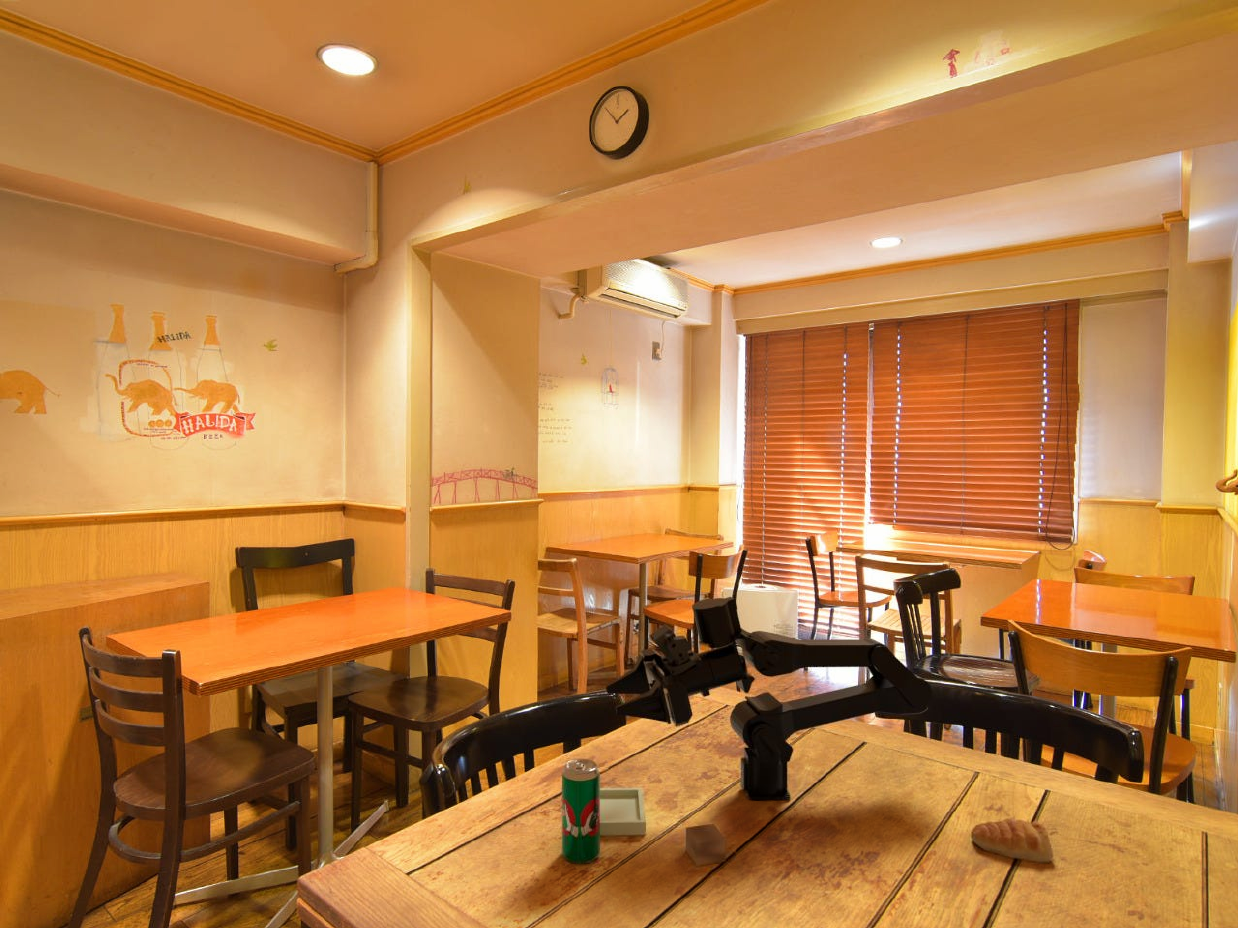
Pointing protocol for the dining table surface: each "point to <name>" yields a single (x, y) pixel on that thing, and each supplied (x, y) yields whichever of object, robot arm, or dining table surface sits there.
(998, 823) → the pastry
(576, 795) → the soda can
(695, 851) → the small brown cube
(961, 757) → the dining table surface
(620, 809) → the tray
